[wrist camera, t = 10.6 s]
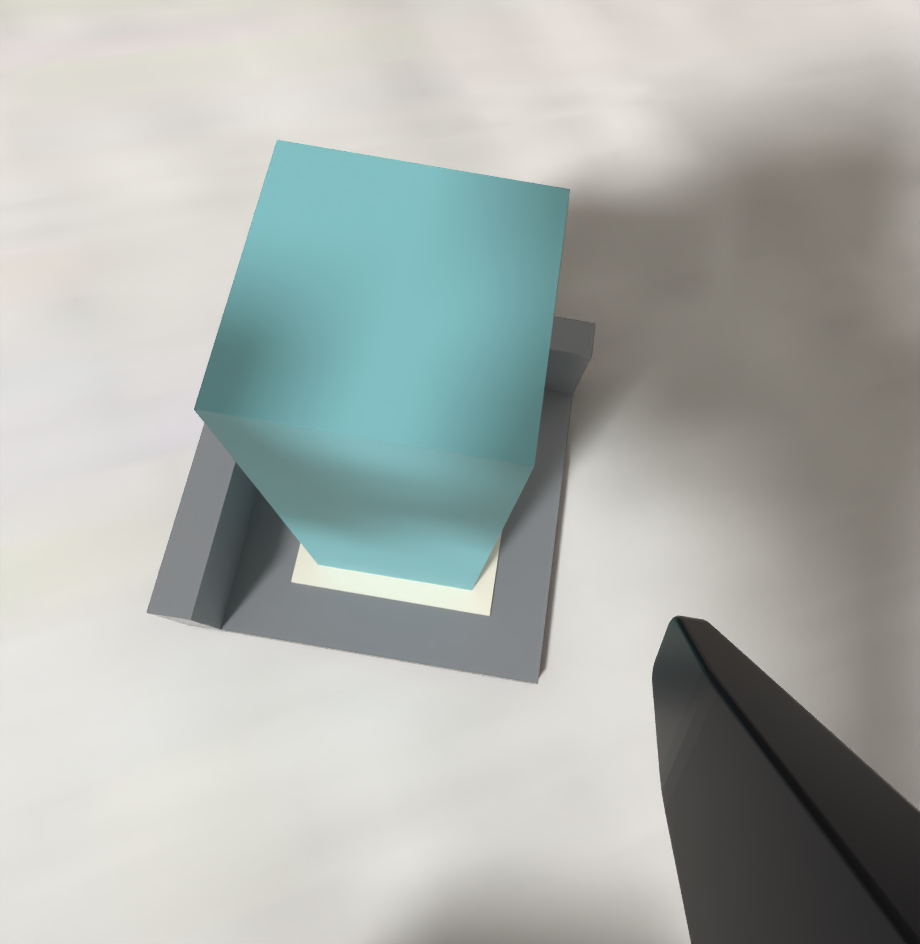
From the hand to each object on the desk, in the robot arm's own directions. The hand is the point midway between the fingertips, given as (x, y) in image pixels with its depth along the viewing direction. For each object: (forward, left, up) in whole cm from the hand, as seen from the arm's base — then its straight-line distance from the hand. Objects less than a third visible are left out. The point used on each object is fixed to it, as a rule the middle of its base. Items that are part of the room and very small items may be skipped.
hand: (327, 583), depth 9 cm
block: (+5, -1, -13) cm, 14 cm away
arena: (+5, -1, -13) cm, 14 cm away
